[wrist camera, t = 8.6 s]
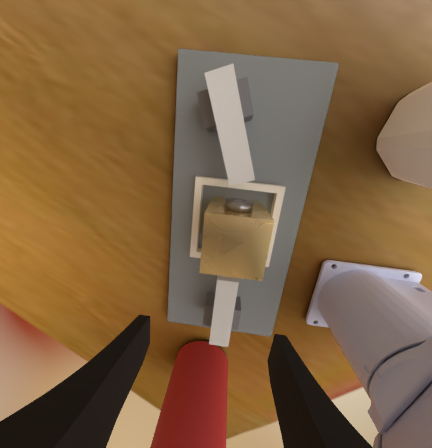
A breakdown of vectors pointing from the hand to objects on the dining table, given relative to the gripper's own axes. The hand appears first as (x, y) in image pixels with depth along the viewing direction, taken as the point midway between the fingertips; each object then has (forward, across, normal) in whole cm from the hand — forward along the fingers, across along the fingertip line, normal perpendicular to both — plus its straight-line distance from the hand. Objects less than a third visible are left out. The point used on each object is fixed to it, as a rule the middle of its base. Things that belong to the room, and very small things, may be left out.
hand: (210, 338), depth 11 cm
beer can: (+10, 0, +15) cm, 18 cm away
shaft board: (+10, -1, -4) cm, 11 cm away
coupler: (+9, -1, -4) cm, 10 cm away
